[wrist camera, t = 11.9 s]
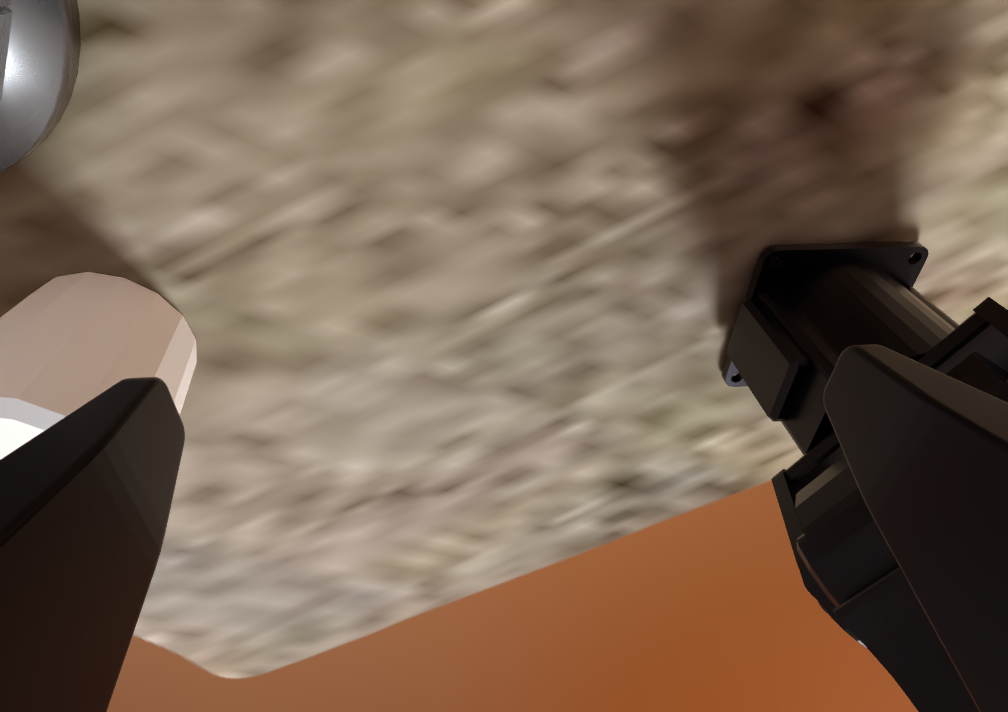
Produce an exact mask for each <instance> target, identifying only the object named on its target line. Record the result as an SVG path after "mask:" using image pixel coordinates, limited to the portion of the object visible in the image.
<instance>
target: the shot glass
mask: <svg viewBox="0 0 1008 712" xmlns="http://www.w3.org/2000/svg"><path fill="white" fill-rule="evenodd" d="M196 363H197V358H196V339H195V337H194V335H193V333H192V331H191V330H190V328H189V326H188V324H187V322H186V321H185V319H184V317H183V315H182V314H181V313H179V312H178V311H177V310H176V309H175V308H174V307H173V306H171V305H170V304H169V303H168V302H167V301H166V300H165V299H163V298H162V297H161V296H160V295H159V294H158V293H156V292H154V291H151V290H149V289H147V288H145V287H143V286H141V285H139V284H136V283H134V282H132V281H130V280H128V279H126V278H123V277H117V276H111V275H104V274H98V273H92V272H83V273H77V274H71V275H64V276H58V277H55V278H53V279H52V280H50V281H49V282H47V283H46V284H45V285H43V286H42V287H40V288H39V289H37V290H36V291H34V292H33V293H32V294H30V295H29V296H28V297H26V298H25V299H24V300H22V301H21V302H20V303H19V304H17V305H16V306H15V307H13V308H12V309H11V310H9V311H8V312H7V313H5V314H4V315H3V316H2V317H0V459H2V458H4V457H5V456H7V455H8V454H10V453H11V452H13V451H14V450H16V449H17V448H19V447H20V446H22V445H23V444H25V443H26V442H28V441H29V440H31V439H32V438H34V437H36V436H37V435H39V434H40V433H42V432H43V431H45V430H46V429H48V428H49V427H51V426H52V425H54V424H55V423H57V422H58V421H60V420H61V419H63V418H64V417H66V416H68V415H69V414H71V413H72V412H74V411H75V410H77V409H78V408H80V407H81V406H83V405H84V404H86V403H87V402H89V401H90V400H92V399H93V398H95V397H96V396H98V395H99V394H101V393H102V392H104V391H106V390H107V389H109V388H110V387H112V386H113V385H115V384H116V383H118V382H119V381H121V380H123V379H127V378H140V377H158V378H160V379H162V380H163V381H164V382H165V383H166V385H167V387H168V389H169V392H170V394H171V396H172V399H173V401H174V404H175V406H176V408H177V411H178V413H179V415H180V413H181V410H182V407H183V404H184V400H185V397H186V394H187V391H188V388H189V385H190V382H191V378H192V375H193V372H194V369H195V366H196Z"/></svg>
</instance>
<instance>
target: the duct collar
mask: <svg viewBox="0 0 1008 712" xmlns="http://www.w3.org/2000/svg"><path fill="white" fill-rule="evenodd" d="M79 55H80V22H79V11H78V5H77V0H0V172H1V171H3V170H5V169H6V168H8V167H10V166H11V165H13V164H14V163H16V162H17V161H19V160H20V159H22V158H24V157H25V156H27V155H28V154H29V153H31V152H32V151H33V150H34V149H35V148H36V147H37V146H38V145H40V144H41V143H42V142H43V141H44V140H45V139H46V138H47V137H48V135H49V134H50V133H51V132H52V130H53V129H54V128H55V126H56V125H57V124H58V122H59V121H60V119H61V117H62V115H63V113H64V111H65V109H66V107H67V105H68V103H69V101H70V99H71V95H72V92H73V88H74V85H75V81H76V77H77V74H78V64H79Z"/></svg>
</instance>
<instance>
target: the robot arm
mask: <svg viewBox="0 0 1008 712" xmlns="http://www.w3.org/2000/svg"><path fill="white" fill-rule="evenodd" d="M912 254H914V255H913V256H912V257H911V258H909V257H910V256H911V255H912ZM774 257H778V258H777V259H776V261H774V262H773V263H770V261H771V260H772V259H773V258H774ZM927 257H928V250H927V249H926V248H925V247H924V246H922V245H921V244H919V243H918V242H884V243H846V244H808V245H774V246H770V247H768V248H766V249H765V250H764V251H763V252H762V253H761V254H760V256H759V258H758V261H757V264H756V267H755V270H754V273H753V276H752V280H751V283H750V286H749V289H748V292H747V295H746V299H745V300H744V301H743V302H742V304H741V307H740V310H739V313H738V316H737V319H736V323H735V326H734V329H733V332H732V335H731V338H730V342H729V345H728V348H727V358H726V362H725V365H724V368H723V371H722V377H723V379H724V381H725V382H726V384H727V385H728V386H731V387H741V386H748V387H749V388H750V390H751V391H752V393H753V394H754V396H755V398H756V399H757V401H758V402H759V404H760V405H761V407H762V408H763V410H764V411H765V413H766V414H767V416H768V417H769V418H770V419H771V420H772V421H781V422H782V423H783V425H784V426H785V428H786V429H787V431H788V432H789V434H790V435H791V437H792V438H793V440H794V441H795V443H796V444H797V446H798V447H799V449H800V450H801V452H802V453H803V455H804V456H802V457H801V458H800V459H799V460H798V461H796V462H795V463H794V464H793V465H792V466H790V467H789V468H788V469H787V470H785V469H783V470H781V471H780V472H779V473H778V474H777V475H775V476H774V477H773V478H772V483H773V486H774V489H775V493H776V496H777V499H778V503H779V506H780V509H781V512H782V516H783V519H784V522H785V525H786V529H787V532H788V536H789V539H790V542H791V545H792V549H793V551H794V555H795V558H796V562H797V564H798V567H799V569H800V573H801V576H802V579H803V582H804V585H805V587H806V588H807V590H808V591H809V592H810V593H811V594H812V595H813V596H814V597H815V598H816V599H817V600H818V602H819V604H820V606H821V607H822V609H823V610H824V611H825V612H826V613H828V614H829V615H830V616H831V618H832V619H833V620H834V621H835V622H836V623H837V624H839V626H840V627H842V629H843V630H844V631H846V632H847V633H848V634H849V635H850V636H852V637H853V638H854V639H855V640H856V641H858V642H859V643H861V644H862V645H864V646H865V647H867V648H868V649H869V650H870V651H871V653H872V654H873V655H874V656H875V657H876V658H877V659H878V660H879V662H880V663H881V664H882V665H883V666H884V667H885V669H886V670H887V671H888V672H889V673H890V674H891V675H892V677H893V678H894V679H895V681H896V682H897V683H898V684H899V686H900V687H901V688H902V690H903V691H904V692H905V694H906V695H907V696H908V698H909V699H910V700H911V702H912V703H913V705H914V706H915V707H916V709H917V710H918V711H919V712H1008V310H1007V309H1005V308H1004V307H1002V306H1001V305H1000V304H998V303H997V302H995V301H994V300H993V299H991V298H990V297H988V298H987V299H985V300H984V301H983V302H982V303H981V304H979V305H978V306H977V307H976V308H975V309H973V311H974V312H975V313H974V314H973V315H971V316H970V317H969V318H968V319H967V320H965V321H964V322H963V323H962V324H961V325H958V324H957V323H956V322H955V321H953V320H952V319H951V318H950V317H948V316H947V315H946V314H945V313H944V312H942V311H941V310H940V309H939V308H937V307H936V306H935V305H934V304H932V303H931V302H930V301H929V300H927V299H926V298H925V297H924V296H923V295H921V294H920V293H919V292H918V291H916V290H915V289H914V288H913V285H914V283H915V281H916V279H917V277H918V275H919V273H920V271H921V269H922V267H923V265H924V263H925V261H926V259H927ZM769 263H770V264H769ZM737 373H738V374H737ZM735 374H737V375H735ZM733 375H735V376H733ZM184 440H185V432H184V426H183V423H182V420H181V418H180V415H179V413H178V411H177V408H176V406H175V404H174V401H173V399H172V396H171V394H170V392H169V389H168V387H167V385H166V383H165V382H164V381H163V380H162V379H160V378H158V377H140V378H127V379H123V380H121V381H119V382H118V383H116V384H115V385H113V386H112V387H110V388H109V389H107V390H106V391H104V392H102V393H101V394H99V395H98V396H96V397H95V398H93V399H92V400H90V401H89V402H87V403H86V404H84V405H83V406H81V407H80V408H78V409H77V410H75V411H74V412H72V413H71V414H69V415H68V416H66V417H64V418H63V419H61V420H60V421H58V422H57V423H55V424H54V425H52V426H51V427H49V428H48V429H46V430H45V431H43V432H42V433H40V434H39V435H37V436H36V437H34V438H32V439H31V440H29V441H28V442H26V443H25V444H23V445H22V446H20V447H19V448H17V449H16V450H14V451H13V452H11V453H10V454H8V455H7V456H5V457H4V458H2V459H0V712H106V711H107V709H108V706H109V703H110V700H111V697H112V694H113V691H114V688H115V685H116V682H117V679H118V676H119V673H120V671H121V668H122V665H123V662H124V659H125V656H126V653H127V650H128V647H129V644H130V641H131V638H132V635H133V633H134V630H135V627H136V624H137V621H138V618H139V615H140V612H141V609H142V606H143V603H144V600H145V597H146V594H147V592H148V589H149V586H150V583H151V580H152V577H153V574H154V571H155V568H156V565H157V561H158V558H159V555H160V552H161V548H162V544H163V540H164V536H165V531H166V527H167V522H168V517H169V513H170V508H171V503H172V498H173V494H174V489H175V484H176V479H177V475H178V470H179V465H180V461H181V456H182V451H183V446H184Z"/></svg>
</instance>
